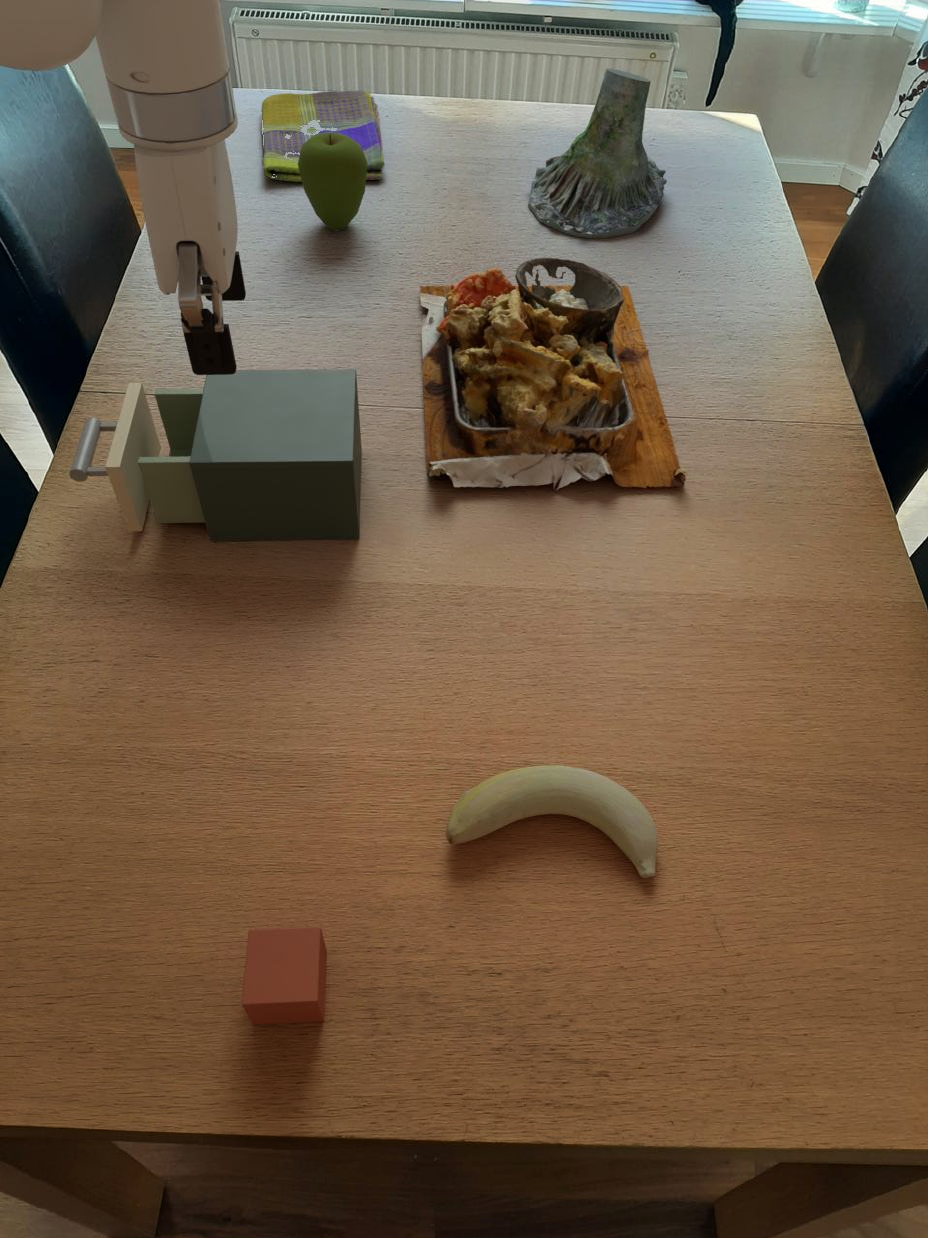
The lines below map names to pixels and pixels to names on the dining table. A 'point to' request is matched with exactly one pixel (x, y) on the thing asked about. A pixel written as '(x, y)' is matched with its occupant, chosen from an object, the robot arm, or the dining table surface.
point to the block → (285, 975)
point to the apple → (333, 177)
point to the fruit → (558, 808)
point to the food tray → (541, 383)
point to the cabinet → (279, 455)
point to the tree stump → (603, 168)
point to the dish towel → (333, 109)
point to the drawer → (147, 457)
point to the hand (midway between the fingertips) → (221, 334)
